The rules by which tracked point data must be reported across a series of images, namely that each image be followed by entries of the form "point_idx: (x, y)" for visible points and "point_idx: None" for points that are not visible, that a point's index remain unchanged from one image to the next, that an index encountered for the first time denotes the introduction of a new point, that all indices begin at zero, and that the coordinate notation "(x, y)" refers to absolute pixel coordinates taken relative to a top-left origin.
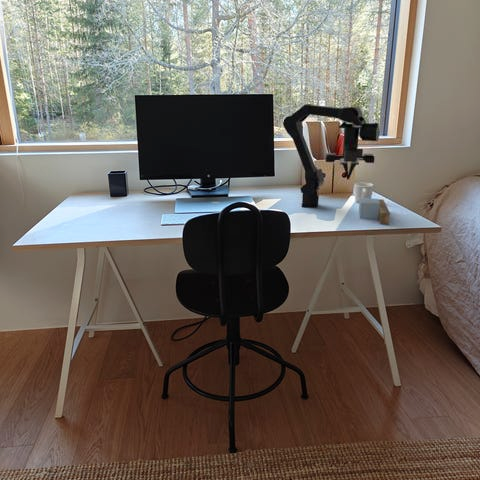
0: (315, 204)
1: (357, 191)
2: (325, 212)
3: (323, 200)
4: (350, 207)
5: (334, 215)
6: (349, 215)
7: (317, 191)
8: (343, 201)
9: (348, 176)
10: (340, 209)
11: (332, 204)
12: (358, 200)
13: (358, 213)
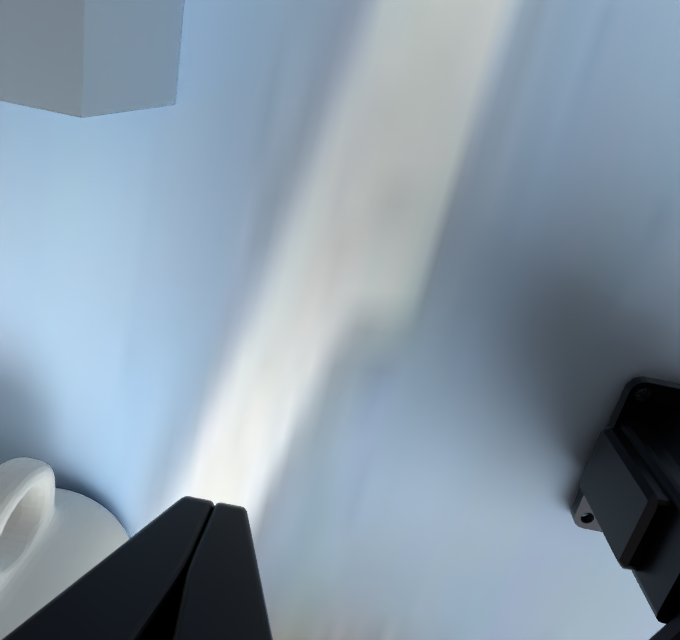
0: (641, 428)
1: None
2: (592, 171)
3: (456, 616)
4: (227, 363)
5: (519, 14)
6: (312, 6)
7: (672, 587)
8: (259, 570)
9: (181, 556)
10: (363, 291)
11: (402, 483)
12: (105, 521)
13: (175, 96)
